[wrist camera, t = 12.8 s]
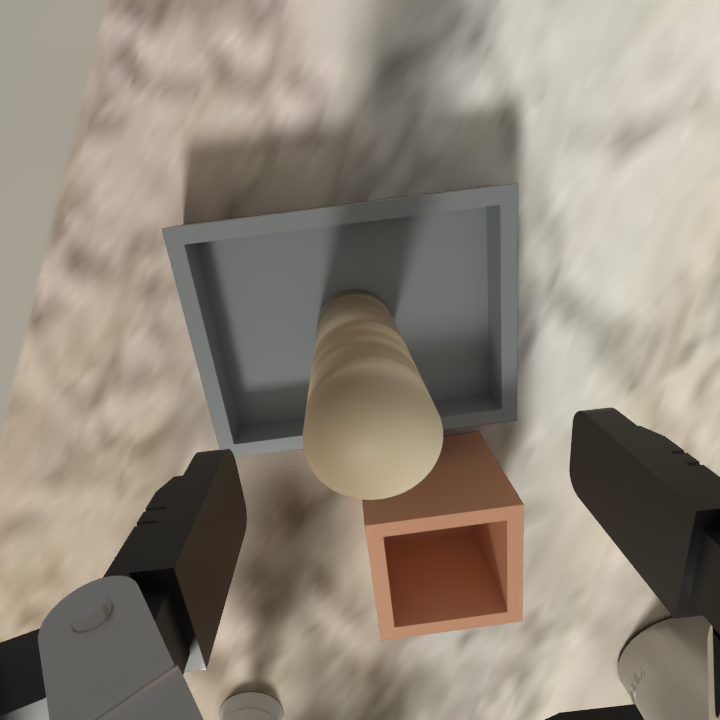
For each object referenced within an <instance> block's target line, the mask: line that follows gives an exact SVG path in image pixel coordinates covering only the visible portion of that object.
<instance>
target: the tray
mask: <svg viewBox="0 0 720 720" xmlns="http://www.w3.org/2000/svg"><path fill="white" fill-rule="evenodd" d="M162 232H163V236H164V240H165V243H166V247H167V251H168V255H169V259H170V262H171V266H172V270H173V274H174V278H175V281H176V285H177V289H178V293H179V297H180V301H181V304H182V308H183V312H184V316H185V320H186V323H187V327H188V331H189V335H190V339H191V342H192V346H193V350H194V354H195V358H196V361H197V365H198V369H199V373H200V377H201V381H202V384H203V388H204V392H205V396H206V400H207V403H208V407H209V411H210V415H211V419H212V422H213V426H214V430H215V434H216V438H217V441H218V445H219V449H220V450H224V449H230V450H231V451H232V452H233V454H234V457H235V458H237V457H244V456H252V455H259V454H267V453H274V452H282V451H290V450H297V449H303V443H302V440H303V428H304V421H305V413H306V406H307V398H308V391H309V384H310V376H311V369H312V361H313V354H314V346H315V339H316V331H317V324H318V318H319V314H320V312H321V310H322V308H323V306H324V305H325V303H326V302H327V301H328V300H329V299H330V298H331V297H333V296H334V295H336V294H338V293H340V292H342V291H345V290H350V289H361V290H366V291H368V292H371V293H373V294H375V295H376V296H378V297H379V298H380V299H381V300H382V301H383V302H384V303H385V304H386V306H387V307H388V309H389V311H390V313H391V315H392V317H393V320H394V322H395V324H396V326H397V328H398V330H399V332H400V334H401V336H402V338H403V340H404V342H405V344H406V347H407V349H408V351H409V353H410V355H411V357H412V359H413V361H414V363H415V365H416V367H417V369H418V371H419V374H420V376H421V378H422V380H423V382H424V384H425V386H426V388H427V390H428V392H429V394H430V396H431V398H432V401H433V403H434V405H435V407H436V409H437V411H438V413H439V415H440V418H441V422H442V427H443V430H448V429H456V428H463V427H471V426H478V425H486V424H494V423H501V422H509V421H516V420H517V257H518V184H506V185H493V186H485V187H477V188H469V189H461V190H453V191H445V192H437V193H430V194H422V195H414V196H406V197H398V198H390V199H382V200H374V201H366V202H358V203H350V204H342V205H334V206H326V207H318V208H310V209H302V210H294V211H286V212H278V213H270V214H263V215H255V216H247V217H239V218H231V219H223V220H215V221H207V222H199V223H191V224H183V225H178V226H172V227H167V228H162Z"/></svg>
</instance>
